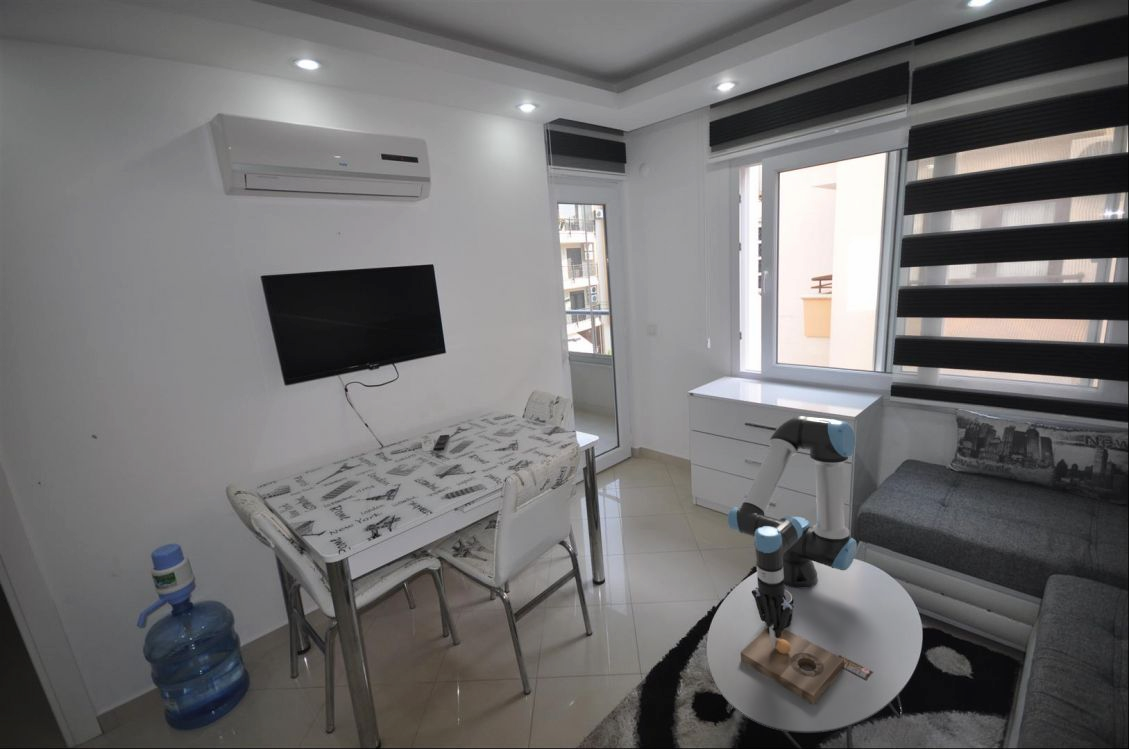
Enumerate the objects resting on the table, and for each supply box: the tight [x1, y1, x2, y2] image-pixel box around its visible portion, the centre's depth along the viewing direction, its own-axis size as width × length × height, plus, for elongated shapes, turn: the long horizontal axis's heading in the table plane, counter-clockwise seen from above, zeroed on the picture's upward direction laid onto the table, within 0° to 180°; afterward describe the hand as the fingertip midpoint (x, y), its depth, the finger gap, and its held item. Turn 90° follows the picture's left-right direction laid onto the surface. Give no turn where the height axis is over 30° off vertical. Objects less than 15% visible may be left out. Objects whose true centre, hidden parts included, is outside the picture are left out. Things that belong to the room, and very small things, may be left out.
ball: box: [776, 639, 791, 654], centre depth 153 cm, size 4×4×4 cm
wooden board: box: [740, 627, 845, 706], centre depth 152 cm, size 23×18×3 cm
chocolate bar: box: [838, 655, 874, 682], centre depth 148 cm, size 11×5×1 cm, turn 38°
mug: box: [780, 589, 795, 628], centre depth 169 cm, size 12×9×10 cm
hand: (775, 644), depth 155 cm, fingers closed
